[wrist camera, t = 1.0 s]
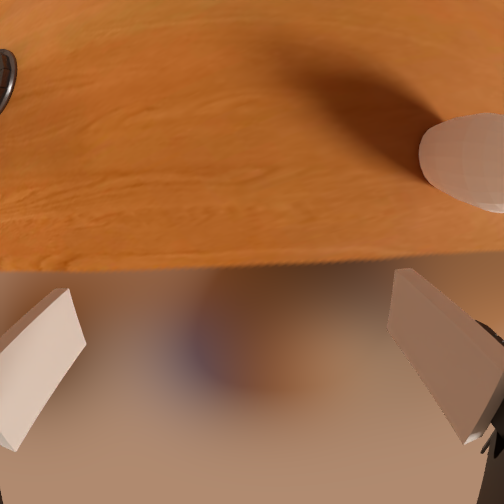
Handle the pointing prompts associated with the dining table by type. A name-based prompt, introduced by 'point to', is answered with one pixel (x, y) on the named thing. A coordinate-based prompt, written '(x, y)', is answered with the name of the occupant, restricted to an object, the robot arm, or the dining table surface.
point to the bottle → (467, 159)
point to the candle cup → (7, 76)
